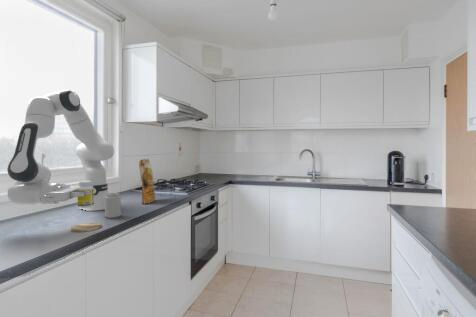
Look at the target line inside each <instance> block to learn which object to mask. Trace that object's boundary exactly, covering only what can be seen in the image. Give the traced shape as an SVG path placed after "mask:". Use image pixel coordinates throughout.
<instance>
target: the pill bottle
mask: <svg viewBox="0 0 476 317" xmlns="http://www.w3.org/2000/svg"><path fill="white" fill-rule="evenodd" d="M78 186H80V187H78V189H77V192H85V196H81V197H77V207H78V208H79V207H80V208H87V207H92V206H93V205H94V193H93V187H92V186H91V181H85V180H83V181H79V182H78Z"/></svg>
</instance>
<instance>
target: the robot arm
mask: <svg viewBox="0 0 476 317" xmlns="http://www.w3.org/2000/svg"><path fill="white" fill-rule="evenodd" d="M61 115H63V117H64V119H65V121H66V123H67V125H68V127H69V129H70V132H72V134H73V137H75V138H76V140H78V141H80V144H79V145H77V147H76V150H75V153H76V156H77V157H78V158H79V160H80V162H81V164H82V167H83V171H84V181H91V186H92V187H93V193H94V205H93V206H92V207H87V208H80V207H78V210H81V209H83V210H82V211H85V210H86V211H88V212H91V211H103V210H105V196H106V194H109V193H110V192H109V190H108V189H109V188H108V186H109V184H108V183H107V171H106V169H105V168H104V166H103V164H102V162H104V161H107V160H110V159H112V158H113V156H114V154H115V148H114V147H113V145H112V144H111V143H109V142H108V141H106V140H105V139H104V137H102V135H101V134H100V133H99V132H98V130H97V129H96V128H95V126H94V123H93V122H92V120H91V118H90V116H89V115H88V112H87V111H86V110H85V108H84V107H83V105H82V104H81V99H80V97H79V95H78V94H77V93H76V92H75V91H74V90H71V89H63V90H58V91H57V90H56V91H54V92H50V93H47V94H45V95H41V96H35V97H32V98H31V99H30V100H29V103H28V106H27V108H26V113H25V117H24V118H25V119H24V120H25V121H24V123H23V124H24V125H22V126H21V129H20V132H19V135H18V138H17V143H16V147H15V151H14V154H13V157H12V158H11V160H10V161H9V163H8V165H7V174H8V176H9V178H11V180H14V181H15V182H14V183H13V185H10V186H9V187H8V189H7V198H8V199H9V201H10V202H12V203H13V204H16V205H24V206H25V205H30V206H32V205H36V204H37V205H38V204H41V205H57V204H59V203H60V202H67V201H70V200H73V199H74V198H78V197H81V196H85V192H77V189H78V187H80V185H74V184H72V185H71V184H67V183H58V182H55V183H54V182H53V183H50V180H51V174H52V172H51V170H50V169H49V167H47V166H45V165H44V164H42V163H40V162H38V161H37V159H36V158H35V152H36V147H37V142H38V140H39V139H46V138H48V137H50V136H51V135H52V134H53V133H54V130H55V124H56V122H55V121H56V116H61Z"/></svg>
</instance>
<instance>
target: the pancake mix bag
mask: <svg viewBox="0 0 476 317" xmlns="http://www.w3.org/2000/svg"><path fill="white" fill-rule="evenodd" d="M138 162H139V163H138V166H139V172H140V181H141V184H142V185H141V186H142V187H141V192H142V193H141V204H142V203H149V202H151V201H153V200H155V199H156V198H157V197H156V193H155V184H154V176H153V169H152V165H151V162H150V159H149V158H147V159H145V158H144V159H140V160H139V161H138ZM156 200H157V199H156ZM149 204H150V203H149Z"/></svg>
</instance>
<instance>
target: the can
mask: <svg viewBox="0 0 476 317" xmlns="http://www.w3.org/2000/svg"><path fill="white" fill-rule="evenodd" d="M121 199H122V197H121V195H120V193H119V192H111V193H110V192H109V194H106V196H105V209H104V216H105V217H106V219H116V218H119V217H120V216H121V215H122V204H121V202H122V201H121Z"/></svg>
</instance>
